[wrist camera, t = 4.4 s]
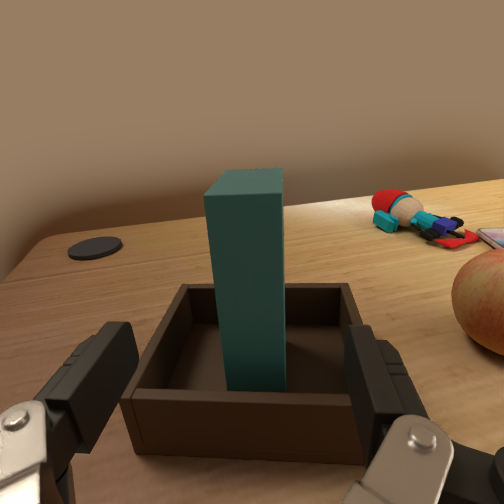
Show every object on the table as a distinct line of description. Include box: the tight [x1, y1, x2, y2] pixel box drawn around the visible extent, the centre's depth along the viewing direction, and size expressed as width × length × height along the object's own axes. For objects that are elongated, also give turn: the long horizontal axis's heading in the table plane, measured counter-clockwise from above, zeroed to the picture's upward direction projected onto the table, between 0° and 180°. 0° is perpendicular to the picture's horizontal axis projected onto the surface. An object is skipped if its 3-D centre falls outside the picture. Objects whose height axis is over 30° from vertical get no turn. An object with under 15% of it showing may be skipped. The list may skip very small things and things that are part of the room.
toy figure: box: [372, 189, 480, 248], centre depth 45 cm, size 8×5×15 cm
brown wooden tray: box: [119, 283, 365, 465], centre depth 21 cm, size 13×11×4 cm
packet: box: [203, 168, 286, 393], centre depth 19 cm, size 4×6×13 cm, turn 175°
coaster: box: [68, 237, 122, 260], centre depth 46 cm, size 7×7×1 cm
